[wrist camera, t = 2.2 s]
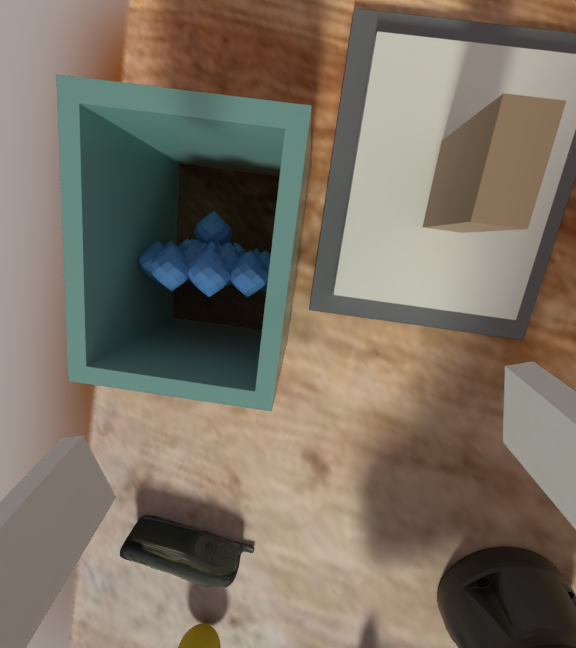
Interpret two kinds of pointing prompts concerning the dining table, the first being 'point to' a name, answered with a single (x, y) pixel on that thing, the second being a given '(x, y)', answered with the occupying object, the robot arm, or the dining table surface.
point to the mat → (344, 157)
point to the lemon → (200, 637)
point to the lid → (454, 173)
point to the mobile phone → (183, 552)
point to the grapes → (207, 261)
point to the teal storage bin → (169, 235)
